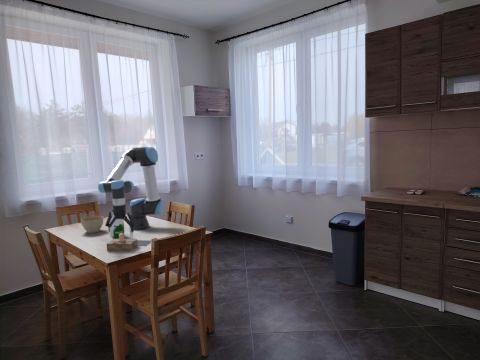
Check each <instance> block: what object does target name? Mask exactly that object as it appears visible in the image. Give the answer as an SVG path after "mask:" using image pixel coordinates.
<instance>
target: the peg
mask: <svg viewBox="0 0 480 360" xmlns="http://www.w3.org/2000/svg"><path fill="white" fill-rule="evenodd" d="M118 239H119V242H122V243H124V239H125V232H124V233H121V234H119V238H118Z"/></svg>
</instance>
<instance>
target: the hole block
mask: <svg viewBox="0 0 480 360" xmlns="http://www.w3.org/2000/svg"><path fill="white" fill-rule="evenodd" d="M137 240H138V239H136V238H135V239H134V238H124V243H122V242H119V238H117V239H114V238H113V239H112V240H110V241H108V242H107V243H106V250H107V251H106V252H132V251H134V249H136V248H137V247H139V246H138V242H137Z"/></svg>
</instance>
